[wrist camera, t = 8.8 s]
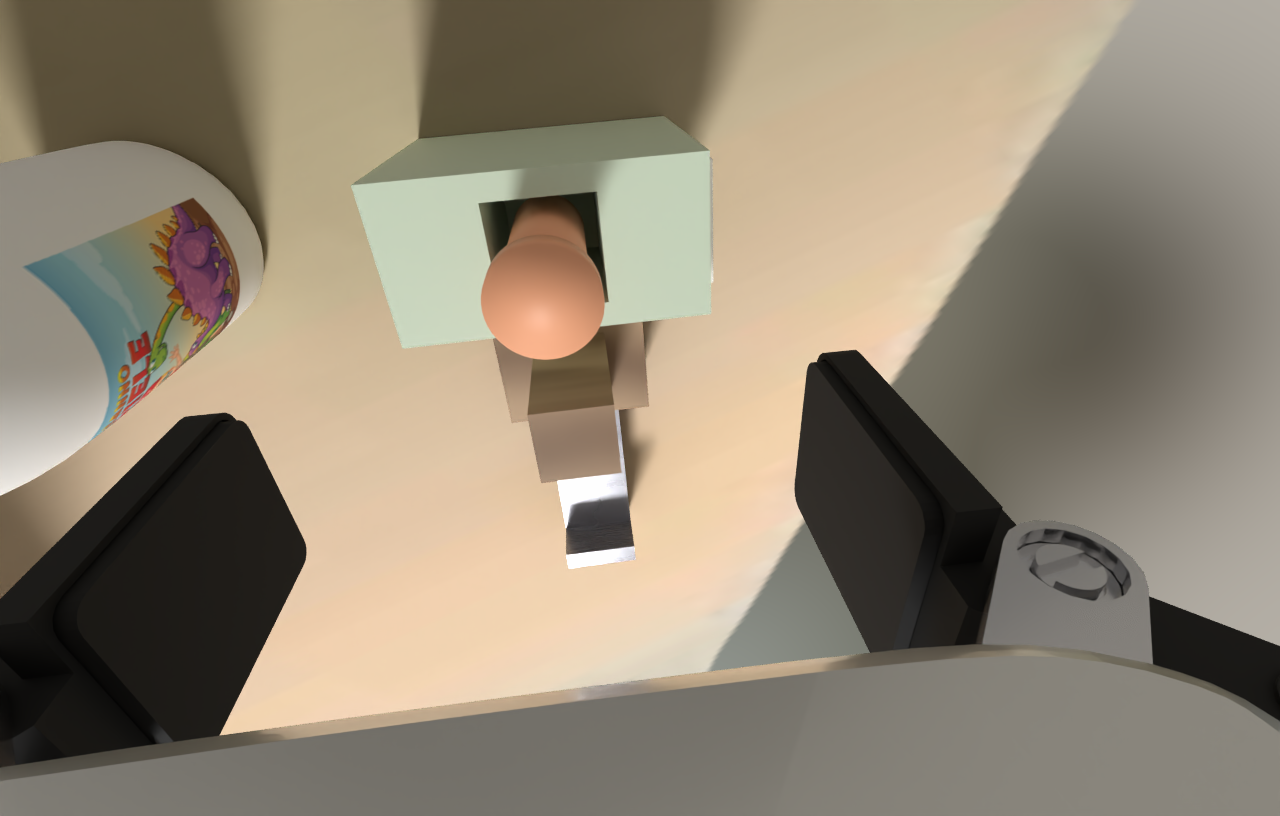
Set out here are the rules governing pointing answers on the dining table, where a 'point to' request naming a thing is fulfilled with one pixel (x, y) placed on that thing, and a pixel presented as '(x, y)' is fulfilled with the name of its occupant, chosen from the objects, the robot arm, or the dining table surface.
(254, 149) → the dining table surface
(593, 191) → the cabinet
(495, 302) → the gauge plunger
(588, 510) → the rail
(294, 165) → the dining table surface
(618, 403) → the carriage
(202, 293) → the milk bottle
